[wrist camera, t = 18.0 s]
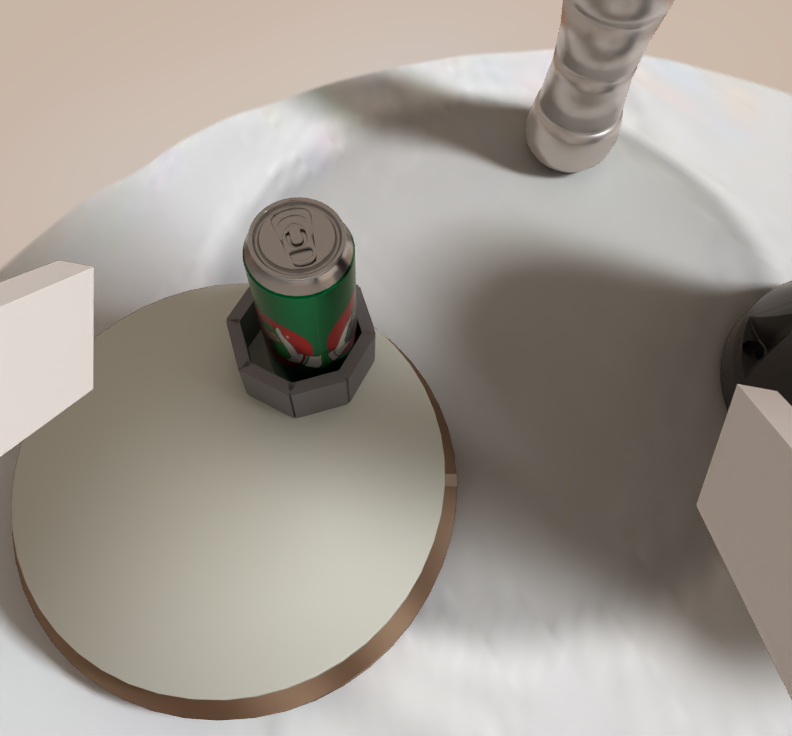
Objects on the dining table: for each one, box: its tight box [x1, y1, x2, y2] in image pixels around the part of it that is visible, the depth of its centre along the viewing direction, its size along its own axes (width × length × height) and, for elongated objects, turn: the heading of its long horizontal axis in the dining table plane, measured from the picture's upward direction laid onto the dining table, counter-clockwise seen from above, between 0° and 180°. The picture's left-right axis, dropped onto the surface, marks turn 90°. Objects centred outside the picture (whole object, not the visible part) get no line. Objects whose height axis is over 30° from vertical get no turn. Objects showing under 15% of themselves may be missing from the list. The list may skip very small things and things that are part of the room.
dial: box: [11, 283, 445, 700], centre depth 40 cm, size 25×23×5 cm
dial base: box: [12, 338, 458, 720], centre depth 44 cm, size 25×25×2 cm
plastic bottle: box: [526, 0, 674, 172], centre depth 47 cm, size 6×7×20 cm
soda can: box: [243, 198, 357, 383], centre depth 38 cm, size 5×5×12 cm
